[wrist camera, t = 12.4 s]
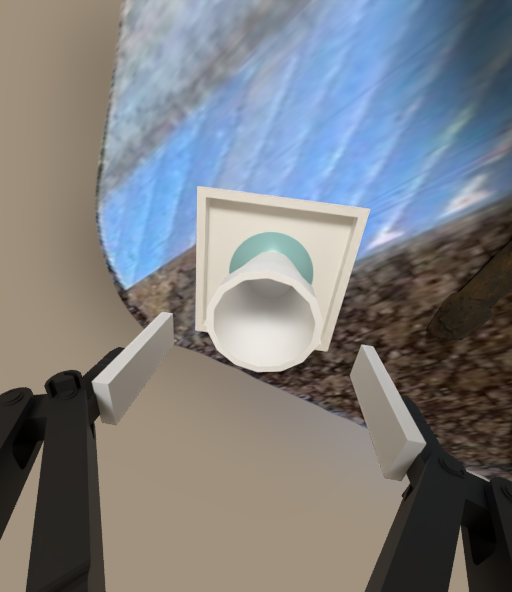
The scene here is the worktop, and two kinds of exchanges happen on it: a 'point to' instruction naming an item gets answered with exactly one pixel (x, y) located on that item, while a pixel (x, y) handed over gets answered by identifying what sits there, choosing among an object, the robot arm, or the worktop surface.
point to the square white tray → (277, 244)
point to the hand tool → (474, 299)
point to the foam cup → (265, 315)
